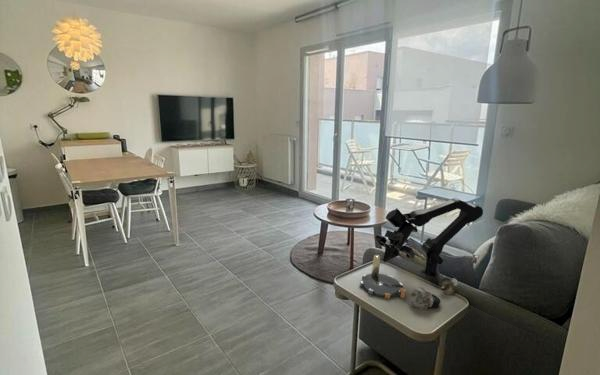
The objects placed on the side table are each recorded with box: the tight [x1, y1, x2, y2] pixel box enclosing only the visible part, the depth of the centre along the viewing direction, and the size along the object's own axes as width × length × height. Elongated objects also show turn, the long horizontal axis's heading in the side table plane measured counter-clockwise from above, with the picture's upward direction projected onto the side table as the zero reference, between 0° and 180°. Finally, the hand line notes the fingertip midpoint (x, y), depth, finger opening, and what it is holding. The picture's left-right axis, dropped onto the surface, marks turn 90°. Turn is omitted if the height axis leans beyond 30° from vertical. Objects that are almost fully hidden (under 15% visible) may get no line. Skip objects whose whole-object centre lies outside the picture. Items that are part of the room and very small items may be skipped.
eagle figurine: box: [438, 274, 458, 296], centre depth 137 cm, size 8×7×9 cm
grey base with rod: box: [359, 254, 404, 300], centre depth 135 cm, size 17×17×11 cm
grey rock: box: [408, 286, 441, 311], centre depth 126 cm, size 7×11×10 cm
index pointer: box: [399, 288, 408, 299], centre depth 129 cm, size 2×2×4 cm
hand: (383, 261), depth 143 cm, fingers closed
